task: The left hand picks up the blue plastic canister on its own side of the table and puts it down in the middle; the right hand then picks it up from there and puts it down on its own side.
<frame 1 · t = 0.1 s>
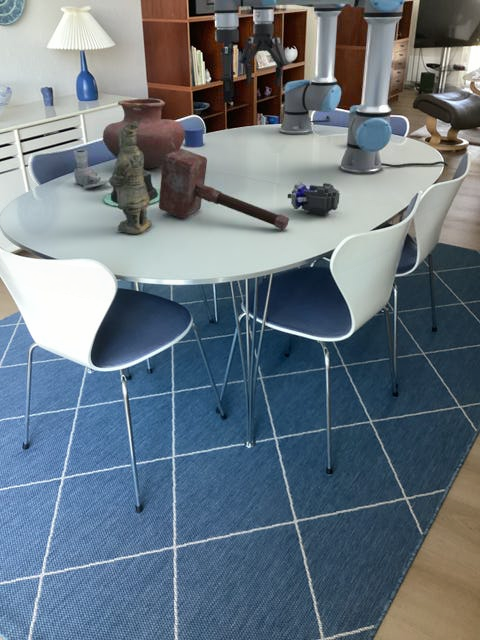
left hand: (263, 84, 216), 28 cm above the table, tool pointing down, fingers open, 13 cm apart
right hand: (228, 99, 188), 28 cm above the table, tool pointing down, fingers open, 13 cm apart
grey boot: (92, 186, 200), on the table
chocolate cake: (134, 197, 187), on the table
statue: (134, 229, 162), on the table
canister: (194, 145, 252), on the table
toy: (312, 213, 171), on the table
figurine: (365, 142, 249), on the table
sledgehammer: (224, 220, 166), on the table
clay pot: (147, 167, 220), on the table
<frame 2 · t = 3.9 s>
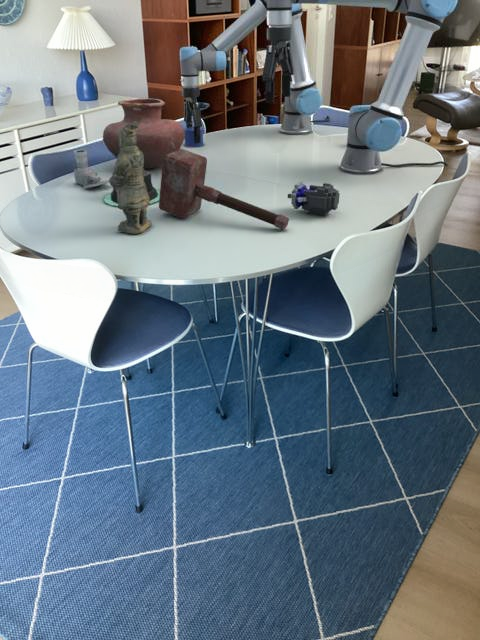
left hand: (193, 140, 251), 2 cm above the table, tool pointing down, fingers closed on canister, 8 cm apart
right hand: (278, 99, 181), 28 cm above the table, tool pointing down, fingers open, 13 cm apart
canister: (194, 145, 252), on the table, touching left hand
everything else where it was.
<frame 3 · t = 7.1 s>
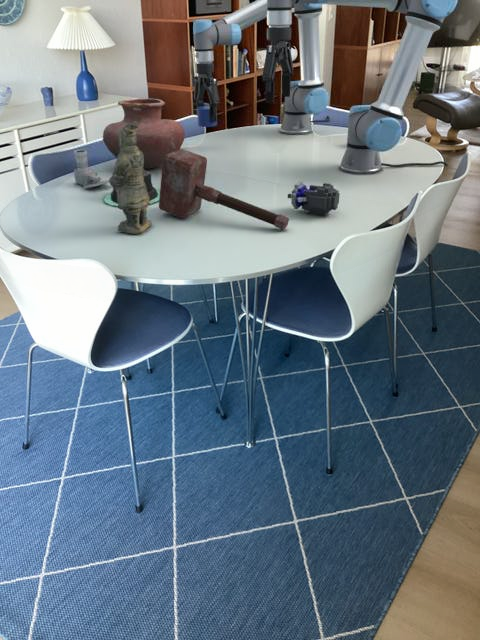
left hand: (207, 120, 238), 12 cm above the table, tool pointing down, fingers closed on canister, 8 cm apart
right hand: (278, 99, 181), 28 cm above the table, tool pointing down, fingers open, 13 cm apart
canister: (207, 124, 239), point 10 cm above the table, touching left hand
everything else where it was.
when the left hand's fingers open (3 cm above the table, at t = 10.7 s): canister drops 1 cm, on the table.
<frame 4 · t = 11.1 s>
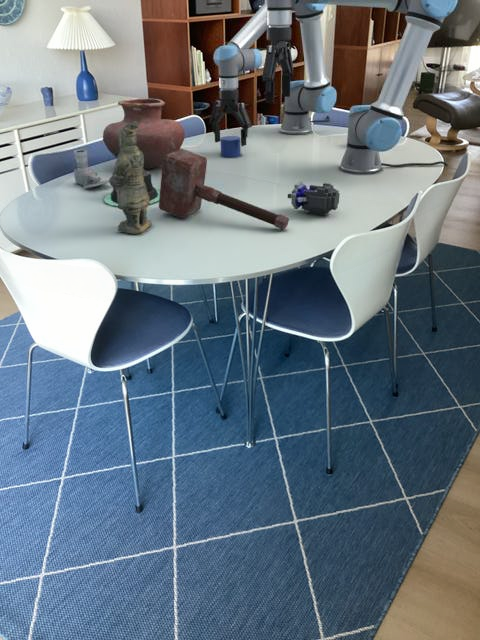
left hand: (230, 143, 231), 5 cm above the table, tool pointing down, fingers open, 13 cm apart
right hand: (278, 99, 181), 28 cm above the table, tool pointing down, fingers open, 13 cm apart
canister: (230, 155, 234), on the table
everything else where it was.
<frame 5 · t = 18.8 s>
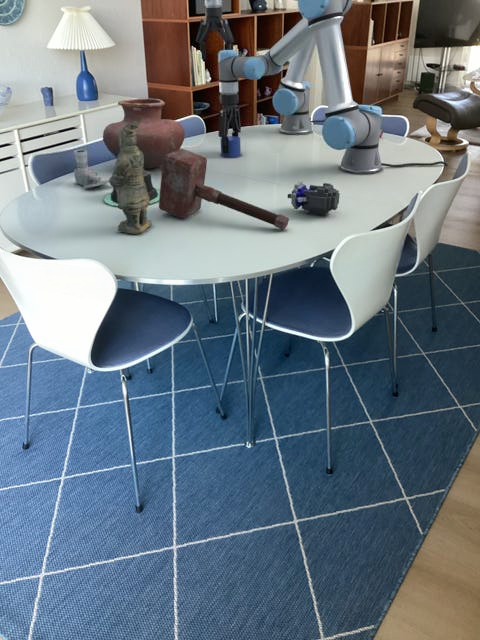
left hand: (215, 59, 256), 33 cm above the table, tool pointing down, fingers open, 13 cm apart
right hand: (230, 150, 233), 2 cm above the table, tool pointing down, fingers closed on canister, 8 cm apart
canister: (230, 155, 234), on the table, touching right hand
everything else where it was.
when the right hand's fingers open (3 cm above the table, at t = 30.0 s): canister drops 1 cm, on the table.
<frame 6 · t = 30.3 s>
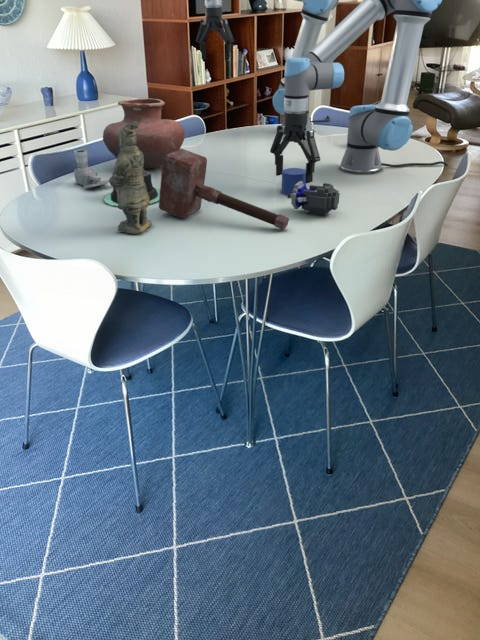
left hand: (215, 59, 256), 33 cm above the table, tool pointing down, fingers open, 13 cm apart
right hand: (293, 178, 187), 5 cm above the table, tool pointing down, fingers open, 12 cm apart
canister: (293, 192, 189), on the table
everything else where it was.
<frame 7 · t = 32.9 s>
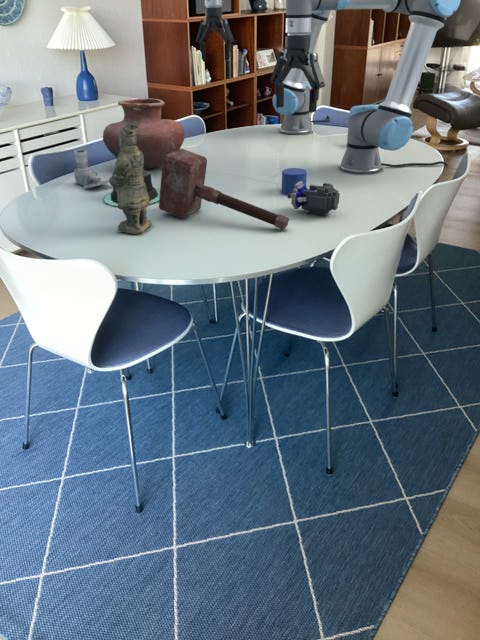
left hand: (215, 59, 256), 33 cm above the table, tool pointing down, fingers open, 13 cm apart
right hand: (295, 109, 175), 27 cm above the table, tool pointing down, fingers open, 13 cm apart
nothing on the table moved.
at the end: canister inside the target area (0.1 cm from its centre), on the table; canister tilted 0°; the two hands never held the canister at the same time; the left hand is holding nothing; the right hand is holding nothing; canister at rest at the end (0.0 cm/s) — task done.
